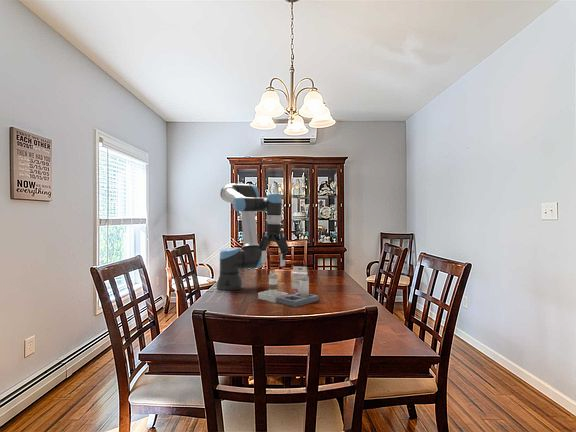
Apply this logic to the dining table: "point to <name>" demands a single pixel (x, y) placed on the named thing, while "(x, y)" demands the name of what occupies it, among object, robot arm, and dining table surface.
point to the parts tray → (270, 296)
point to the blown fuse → (273, 284)
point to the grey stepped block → (297, 278)
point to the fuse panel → (297, 299)
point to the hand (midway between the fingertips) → (273, 264)
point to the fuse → (304, 286)
